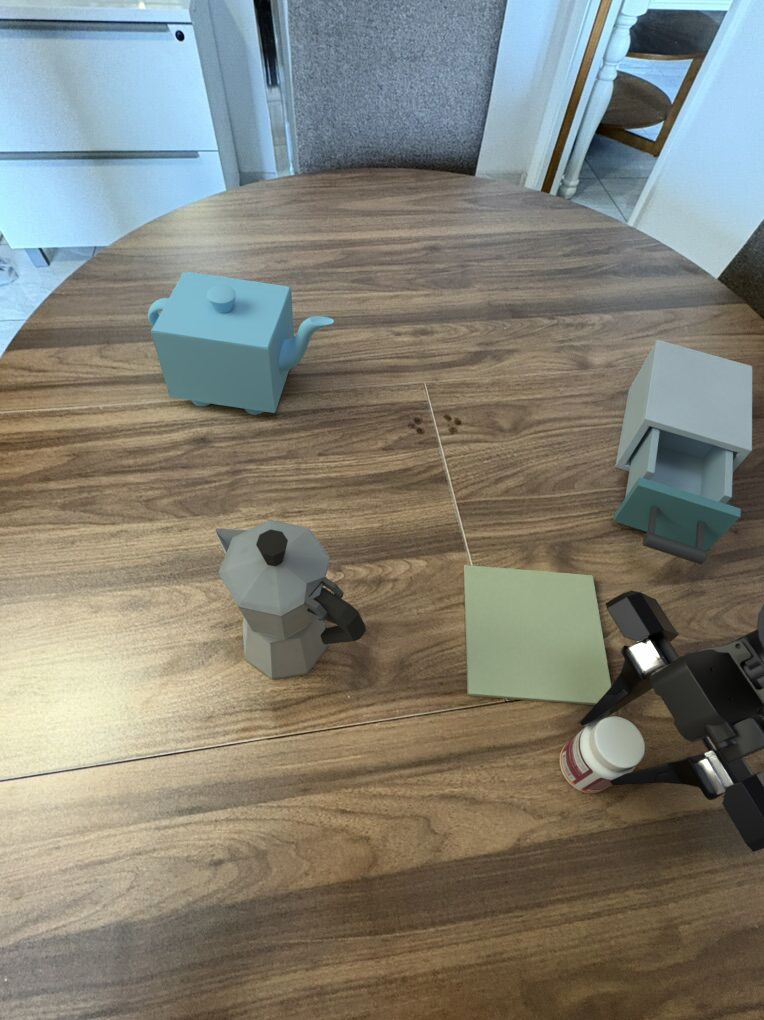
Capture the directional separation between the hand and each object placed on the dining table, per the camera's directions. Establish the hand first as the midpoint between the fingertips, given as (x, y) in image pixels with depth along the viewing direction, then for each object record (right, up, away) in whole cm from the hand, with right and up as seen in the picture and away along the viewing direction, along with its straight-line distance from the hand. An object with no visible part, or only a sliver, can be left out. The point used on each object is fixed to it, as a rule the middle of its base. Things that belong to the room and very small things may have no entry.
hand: (597, 752), depth 50 cm
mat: (-2, +7, +13) cm, 15 cm away
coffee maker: (-26, +7, +10) cm, 29 cm away
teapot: (-35, +36, +30) cm, 58 cm away
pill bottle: (+1, -4, +6) cm, 7 cm away
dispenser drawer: (+15, +20, +22) cm, 33 cm away
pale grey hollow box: (+20, +29, +30) cm, 46 cm away
